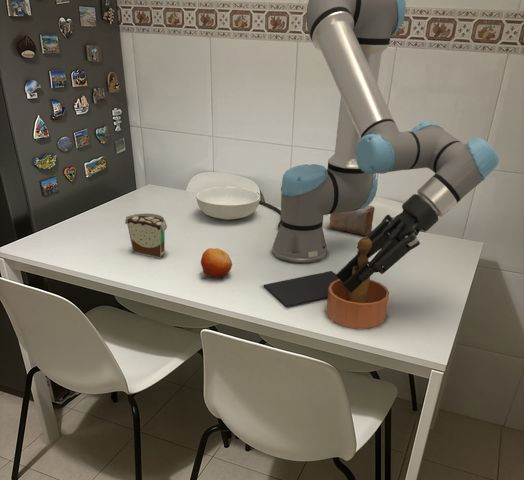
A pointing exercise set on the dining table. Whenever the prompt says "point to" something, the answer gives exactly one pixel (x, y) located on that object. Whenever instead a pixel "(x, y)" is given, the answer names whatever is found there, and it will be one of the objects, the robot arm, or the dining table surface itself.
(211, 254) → the fruit
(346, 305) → the copper pot
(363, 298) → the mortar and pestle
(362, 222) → the food item
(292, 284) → the rubber mat
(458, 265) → the dining table surface
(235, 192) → the serving bowl
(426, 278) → the dining table surface
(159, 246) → the food container
